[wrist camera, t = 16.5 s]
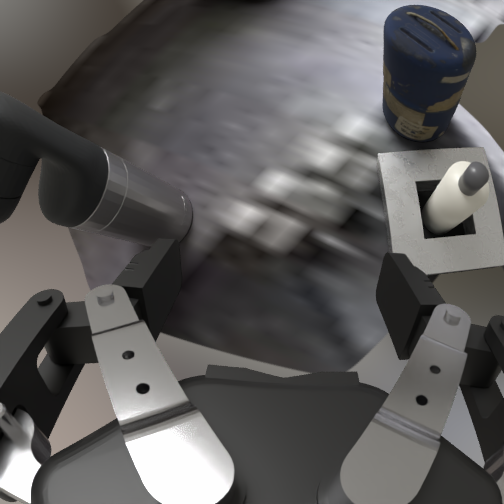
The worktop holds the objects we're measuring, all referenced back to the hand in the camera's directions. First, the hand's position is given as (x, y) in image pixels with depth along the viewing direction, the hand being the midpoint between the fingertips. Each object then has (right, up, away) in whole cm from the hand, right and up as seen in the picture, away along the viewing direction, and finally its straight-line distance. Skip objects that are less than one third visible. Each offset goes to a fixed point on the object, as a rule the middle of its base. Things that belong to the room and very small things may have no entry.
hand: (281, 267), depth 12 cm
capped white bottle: (+21, +5, +21) cm, 31 cm away
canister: (+21, +19, +24) cm, 37 cm away
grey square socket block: (+21, +5, +21) cm, 31 cm away
